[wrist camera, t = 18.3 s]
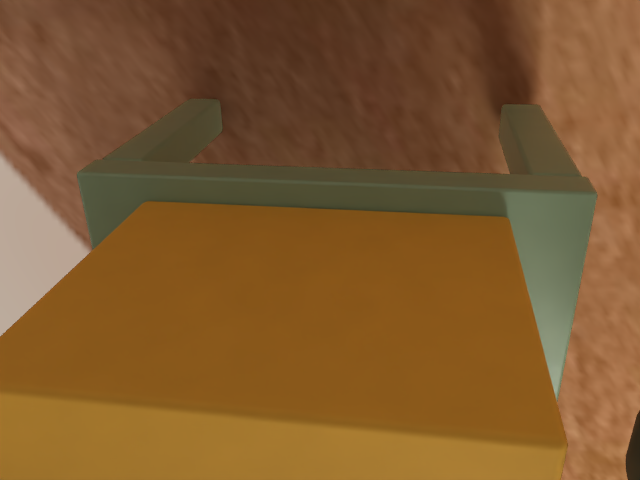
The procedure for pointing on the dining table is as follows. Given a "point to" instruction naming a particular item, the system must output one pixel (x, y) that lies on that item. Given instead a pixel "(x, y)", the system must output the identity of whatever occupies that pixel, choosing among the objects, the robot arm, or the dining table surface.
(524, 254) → the chair
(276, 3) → the dining table surface
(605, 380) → the dining table surface
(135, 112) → the dining table surface
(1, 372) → the yellow toy cube
